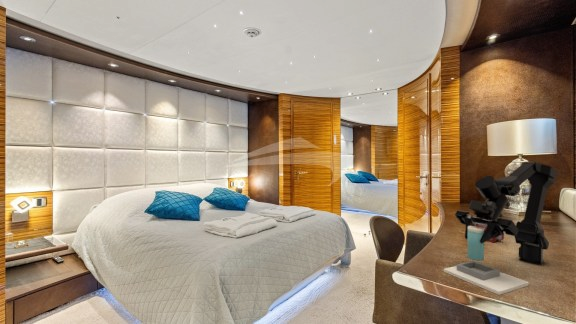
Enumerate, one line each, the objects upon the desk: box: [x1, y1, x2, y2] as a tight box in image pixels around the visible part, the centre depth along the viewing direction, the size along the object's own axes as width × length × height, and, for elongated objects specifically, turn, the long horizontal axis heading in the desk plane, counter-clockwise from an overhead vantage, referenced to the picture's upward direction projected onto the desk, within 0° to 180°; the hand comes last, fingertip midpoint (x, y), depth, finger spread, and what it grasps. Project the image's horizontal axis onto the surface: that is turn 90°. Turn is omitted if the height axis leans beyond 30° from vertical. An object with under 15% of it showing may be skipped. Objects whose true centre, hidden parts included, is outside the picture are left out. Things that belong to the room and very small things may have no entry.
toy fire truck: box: [475, 223, 505, 243], centre depth 133 cm, size 7×12×10 cm, turn 30°
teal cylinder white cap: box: [466, 226, 485, 262], centre depth 93 cm, size 5×5×11 cm
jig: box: [443, 260, 530, 296], centre depth 90 cm, size 16×18×3 cm
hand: (473, 240), depth 92 cm, fingers closed on teal cylinder white cap, 5 cm apart
